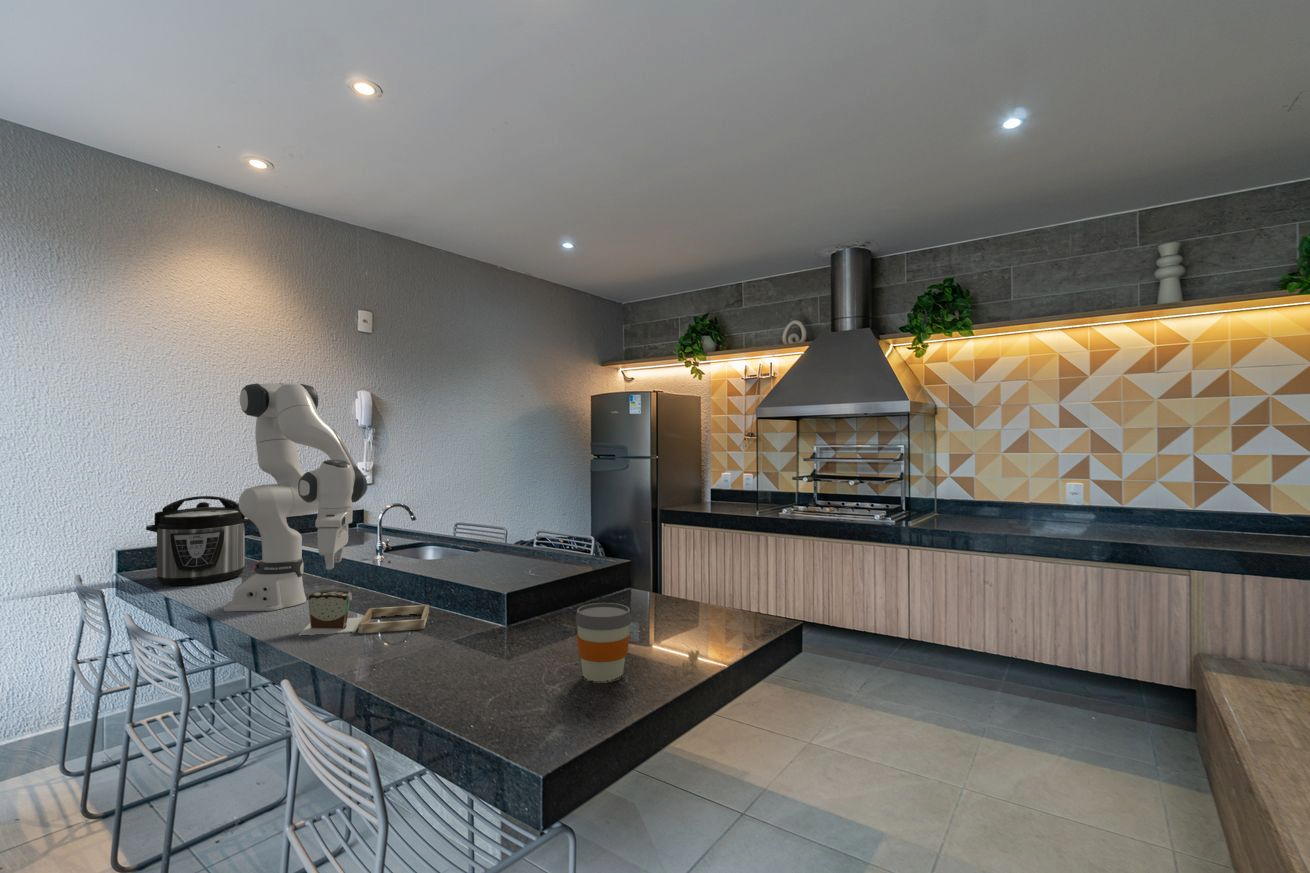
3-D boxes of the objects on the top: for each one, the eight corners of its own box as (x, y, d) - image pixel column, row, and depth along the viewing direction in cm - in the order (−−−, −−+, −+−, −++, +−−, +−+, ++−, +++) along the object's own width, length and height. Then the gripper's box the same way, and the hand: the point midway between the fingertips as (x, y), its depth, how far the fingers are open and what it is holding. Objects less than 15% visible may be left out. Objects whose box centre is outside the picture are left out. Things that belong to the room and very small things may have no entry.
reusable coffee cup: (584, 690, 129) (584, 619, 129) (568, 670, 141) (569, 605, 141) (638, 681, 134) (639, 613, 134) (619, 663, 146) (619, 600, 146)
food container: (360, 623, 175) (360, 588, 175) (349, 629, 169) (349, 593, 169) (318, 622, 175) (318, 587, 175) (305, 628, 169) (306, 592, 169)
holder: (358, 633, 167) (358, 624, 167) (369, 616, 183) (369, 608, 183) (424, 628, 171) (424, 620, 171) (429, 612, 188) (429, 604, 188)
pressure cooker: (129, 588, 217) (130, 499, 217) (188, 571, 245) (189, 493, 245) (214, 588, 217) (216, 499, 218) (263, 571, 246) (264, 493, 246)
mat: (298, 636, 164) (298, 634, 164) (312, 621, 177) (312, 620, 177) (355, 632, 168) (355, 630, 168) (364, 618, 181) (364, 616, 181)
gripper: (331, 512, 182) (330, 558, 182) (313, 522, 162) (312, 573, 162) (354, 512, 184) (353, 558, 184) (339, 521, 164) (338, 572, 164)
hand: (333, 565), depth 173 cm, fingers open, 8 cm apart
